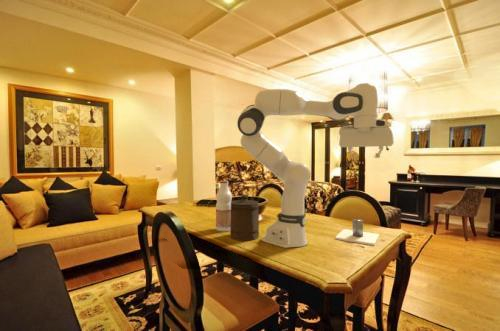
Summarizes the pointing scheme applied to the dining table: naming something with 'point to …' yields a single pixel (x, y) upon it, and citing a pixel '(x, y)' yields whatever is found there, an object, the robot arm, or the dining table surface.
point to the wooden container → (244, 219)
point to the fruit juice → (223, 207)
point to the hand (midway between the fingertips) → (365, 157)
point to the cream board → (366, 239)
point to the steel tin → (357, 228)
